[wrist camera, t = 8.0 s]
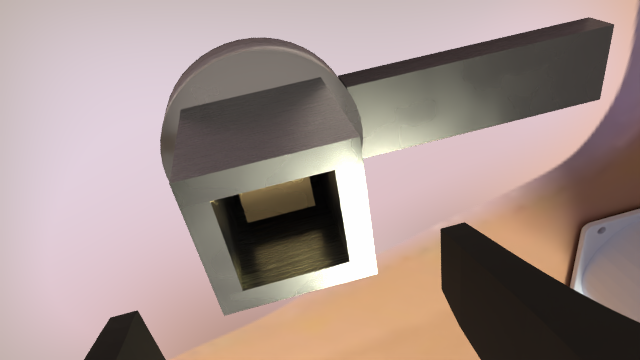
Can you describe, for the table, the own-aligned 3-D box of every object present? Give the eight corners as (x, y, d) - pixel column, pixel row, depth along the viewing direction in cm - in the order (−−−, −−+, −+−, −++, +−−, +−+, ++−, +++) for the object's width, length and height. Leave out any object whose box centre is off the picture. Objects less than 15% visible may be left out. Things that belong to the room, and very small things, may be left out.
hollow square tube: (320, 76, 16) (360, 136, 12) (339, 191, 19) (377, 273, 14) (180, 109, 15) (169, 183, 11) (221, 221, 18) (223, 315, 14)
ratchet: (598, -40, 18) (697, -27, 14) (570, 130, 22) (642, 174, 18) (133, 63, 16) (111, 107, 12) (198, 226, 20) (196, 295, 16)
